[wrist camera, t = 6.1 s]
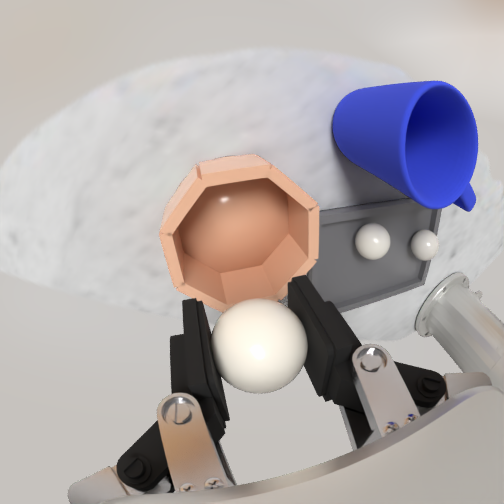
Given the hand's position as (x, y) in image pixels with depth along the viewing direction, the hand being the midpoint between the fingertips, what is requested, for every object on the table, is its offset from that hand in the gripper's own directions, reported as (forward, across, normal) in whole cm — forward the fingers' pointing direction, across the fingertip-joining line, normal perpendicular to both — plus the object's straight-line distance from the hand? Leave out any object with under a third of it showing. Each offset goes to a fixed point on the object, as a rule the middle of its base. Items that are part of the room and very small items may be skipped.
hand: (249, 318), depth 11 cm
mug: (+13, -15, -5) cm, 20 cm away
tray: (+13, -16, +8) cm, 22 cm away
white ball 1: (0, 0, 0) cm, 0 cm away
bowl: (+13, -1, +1) cm, 13 cm away
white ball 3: (+12, -22, +7) cm, 26 cm away
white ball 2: (+12, -14, +5) cm, 19 cm away
